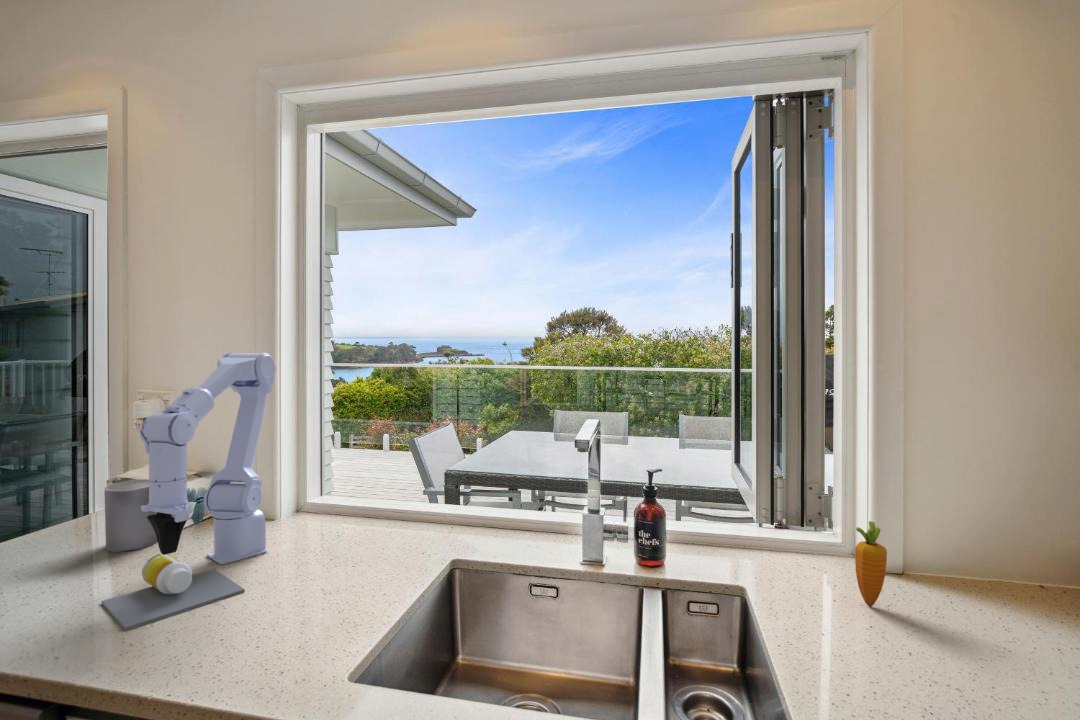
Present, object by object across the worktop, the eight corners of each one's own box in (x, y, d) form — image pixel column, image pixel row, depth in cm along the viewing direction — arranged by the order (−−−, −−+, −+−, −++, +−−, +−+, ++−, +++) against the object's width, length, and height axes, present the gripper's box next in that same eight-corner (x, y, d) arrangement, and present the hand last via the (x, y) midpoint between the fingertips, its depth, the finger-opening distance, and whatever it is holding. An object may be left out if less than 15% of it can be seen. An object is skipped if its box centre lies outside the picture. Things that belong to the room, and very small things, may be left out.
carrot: (875, 615, 94) (877, 529, 94) (847, 603, 98) (849, 521, 98) (892, 609, 96) (894, 525, 96) (864, 598, 101) (866, 517, 100)
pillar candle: (140, 534, 130) (139, 472, 129) (168, 540, 126) (167, 475, 126) (95, 549, 121) (93, 482, 120) (123, 555, 117) (122, 486, 117)
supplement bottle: (136, 584, 100) (157, 599, 94) (145, 552, 101) (167, 566, 95) (170, 581, 105) (192, 596, 98) (178, 552, 106) (201, 565, 99)
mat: (214, 571, 109) (214, 569, 109) (244, 591, 100) (244, 589, 100) (101, 603, 95) (101, 600, 95) (125, 630, 86) (125, 627, 86)
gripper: (129, 476, 101) (130, 549, 101) (155, 489, 92) (155, 569, 92) (173, 469, 106) (173, 538, 106) (202, 481, 97) (202, 557, 97)
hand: (168, 552), depth 100 cm, fingers closed
